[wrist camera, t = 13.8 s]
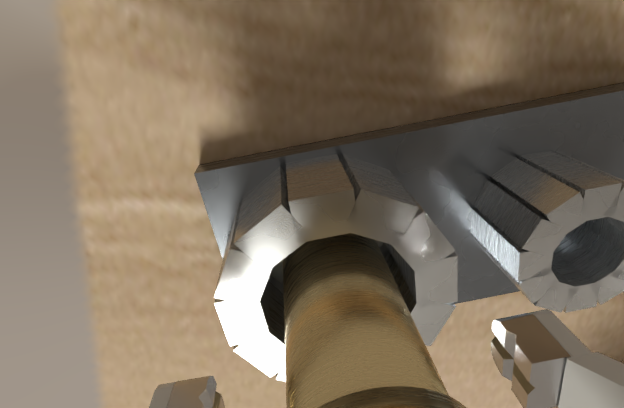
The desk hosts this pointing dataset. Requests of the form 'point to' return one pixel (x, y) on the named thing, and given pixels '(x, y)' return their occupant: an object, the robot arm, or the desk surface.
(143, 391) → the desk surface
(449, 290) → the manifold plate
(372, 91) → the desk surface
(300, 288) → the brass fitting
